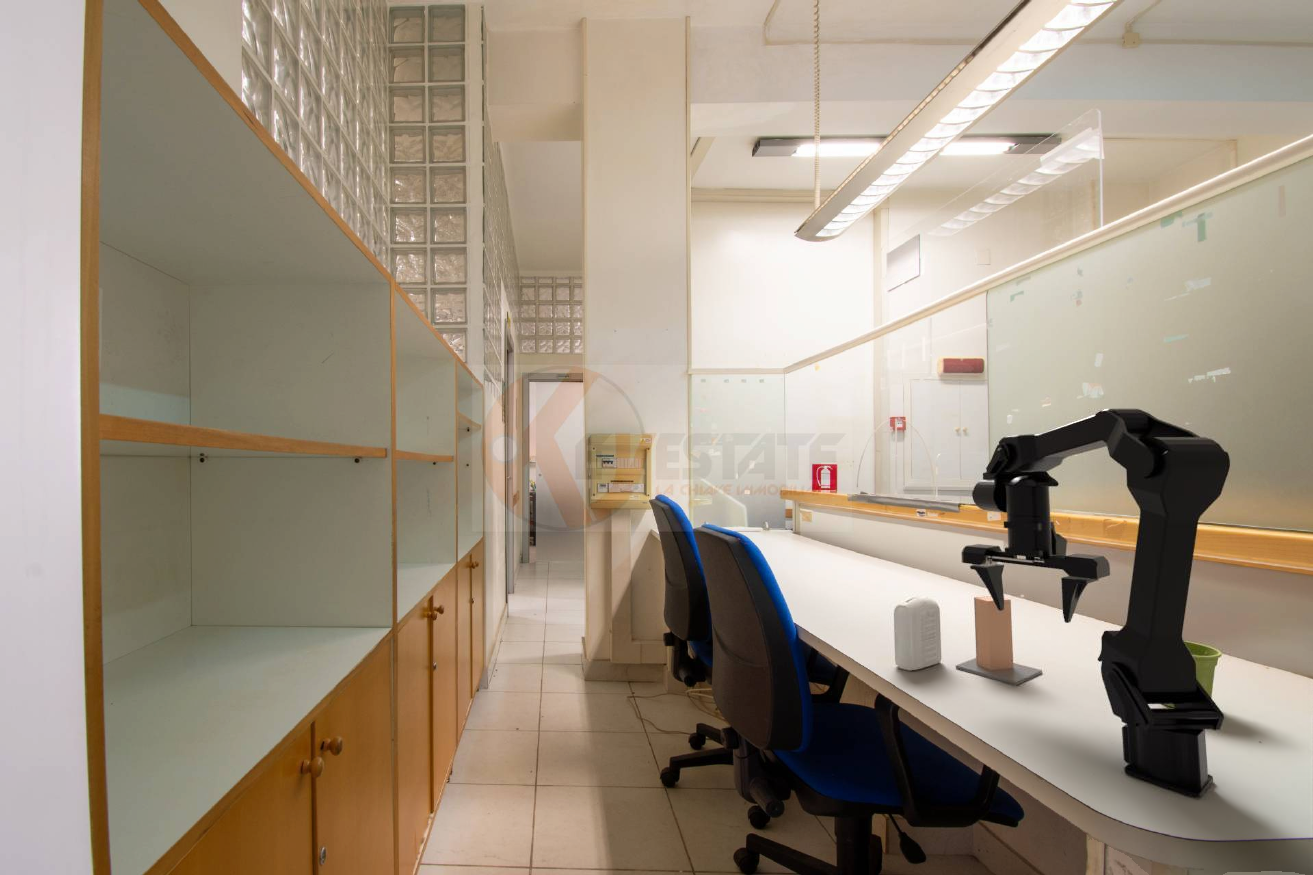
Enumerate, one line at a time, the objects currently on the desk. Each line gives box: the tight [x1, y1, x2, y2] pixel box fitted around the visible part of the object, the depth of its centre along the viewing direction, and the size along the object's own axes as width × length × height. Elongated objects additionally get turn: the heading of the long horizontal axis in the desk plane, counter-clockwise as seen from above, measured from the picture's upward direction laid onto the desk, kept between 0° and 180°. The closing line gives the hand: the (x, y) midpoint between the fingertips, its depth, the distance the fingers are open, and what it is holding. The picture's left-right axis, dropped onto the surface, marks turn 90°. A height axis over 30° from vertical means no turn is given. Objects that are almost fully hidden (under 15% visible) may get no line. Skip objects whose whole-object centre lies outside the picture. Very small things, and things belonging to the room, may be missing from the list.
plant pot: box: [1163, 640, 1223, 708], centre depth 85 cm, size 9×9×9 cm
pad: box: [955, 657, 1043, 686], centre depth 100 cm, size 10×10×1 cm
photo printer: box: [893, 595, 942, 672], centre depth 104 cm, size 10×4×12 cm, turn 123°
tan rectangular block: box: [973, 595, 1014, 670], centre depth 101 cm, size 3×5×12 cm, turn 104°
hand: (1032, 616), depth 87 cm, fingers open, 9 cm apart
